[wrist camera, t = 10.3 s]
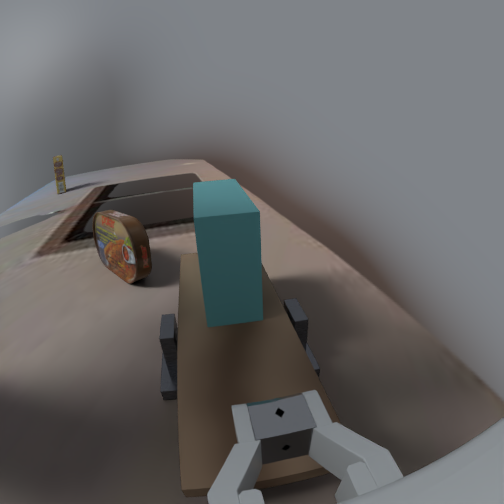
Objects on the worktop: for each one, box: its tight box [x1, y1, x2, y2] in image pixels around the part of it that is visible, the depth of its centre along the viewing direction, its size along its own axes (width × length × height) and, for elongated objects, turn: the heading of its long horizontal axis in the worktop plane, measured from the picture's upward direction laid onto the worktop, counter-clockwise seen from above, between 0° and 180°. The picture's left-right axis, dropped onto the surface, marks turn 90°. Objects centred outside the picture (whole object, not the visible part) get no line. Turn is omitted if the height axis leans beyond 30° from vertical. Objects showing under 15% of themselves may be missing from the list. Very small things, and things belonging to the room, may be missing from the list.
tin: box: [93, 210, 152, 284], centre depth 40 cm, size 15×3×8 cm, turn 47°
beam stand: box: [159, 298, 320, 400], centre depth 28 cm, size 12×16×5 cm
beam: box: [176, 253, 342, 497], centre depth 23 cm, size 8×26×2 cm, turn 10°
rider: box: [193, 179, 263, 327], centre depth 26 cm, size 4×12×8 cm, turn 10°
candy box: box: [53, 155, 66, 194], centre depth 108 cm, size 9×4×15 cm, turn 35°
